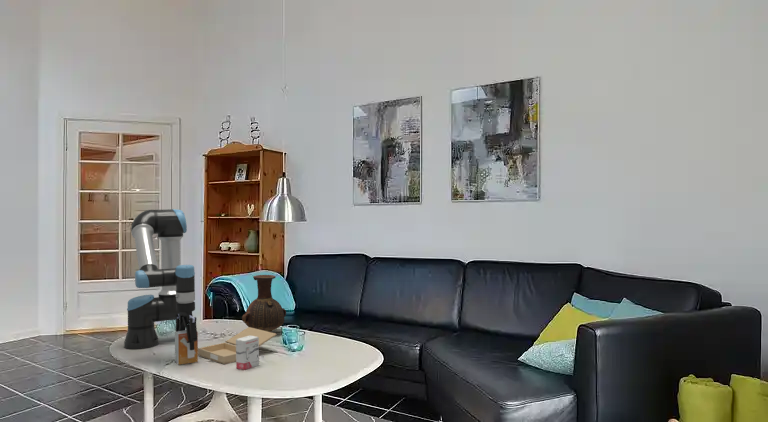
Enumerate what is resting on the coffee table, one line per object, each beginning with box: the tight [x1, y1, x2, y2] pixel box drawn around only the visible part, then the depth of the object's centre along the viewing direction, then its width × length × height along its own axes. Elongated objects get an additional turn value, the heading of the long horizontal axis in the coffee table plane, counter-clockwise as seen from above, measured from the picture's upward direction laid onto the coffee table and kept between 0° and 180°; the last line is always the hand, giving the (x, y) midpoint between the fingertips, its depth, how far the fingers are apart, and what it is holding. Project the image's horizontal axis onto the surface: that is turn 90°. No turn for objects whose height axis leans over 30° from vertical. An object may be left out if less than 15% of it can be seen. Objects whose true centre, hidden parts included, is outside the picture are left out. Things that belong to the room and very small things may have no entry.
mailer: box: [198, 342, 236, 365], centre depth 240 cm, size 21×14×3 cm, turn 47°
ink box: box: [235, 336, 260, 371], centre depth 224 cm, size 9×5×12 cm, turn 148°
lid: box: [224, 326, 277, 347], centre depth 250 cm, size 22×14×1 cm, turn 47°
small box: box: [174, 329, 199, 366], centre depth 232 cm, size 8×6×13 cm
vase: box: [241, 274, 287, 333], centre depth 283 cm, size 25×20×30 cm
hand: (186, 355), depth 232 cm, fingers closed on small box, 7 cm apart
